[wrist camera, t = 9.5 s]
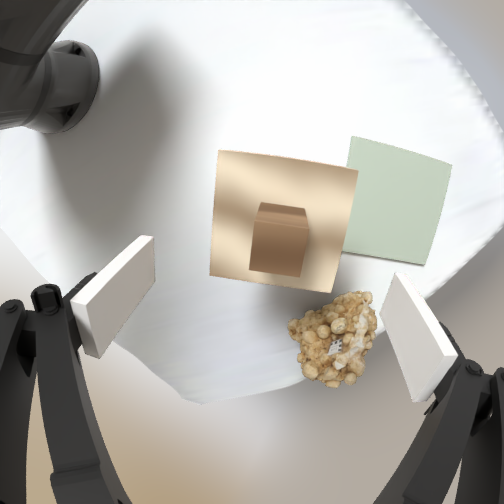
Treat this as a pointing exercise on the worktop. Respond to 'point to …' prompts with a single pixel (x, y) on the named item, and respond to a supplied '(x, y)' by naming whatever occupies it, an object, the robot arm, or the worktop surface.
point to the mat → (394, 201)
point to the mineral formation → (336, 339)
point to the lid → (279, 219)
